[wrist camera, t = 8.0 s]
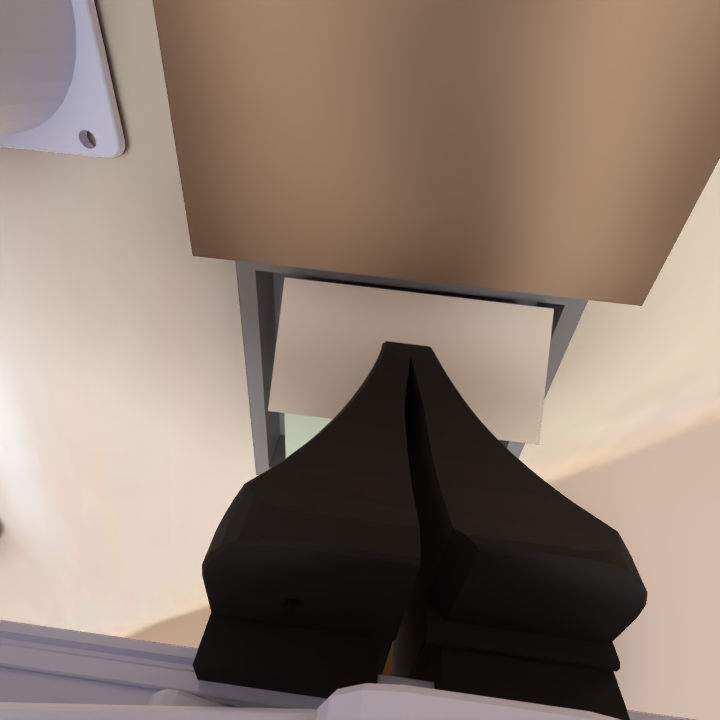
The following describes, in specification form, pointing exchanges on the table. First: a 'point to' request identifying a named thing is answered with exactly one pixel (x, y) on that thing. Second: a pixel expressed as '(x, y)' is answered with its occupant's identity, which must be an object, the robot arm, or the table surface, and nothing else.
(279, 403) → the cream tile
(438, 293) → the bin
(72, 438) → the table surface
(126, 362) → the table surface
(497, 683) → the robot arm
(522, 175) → the block
